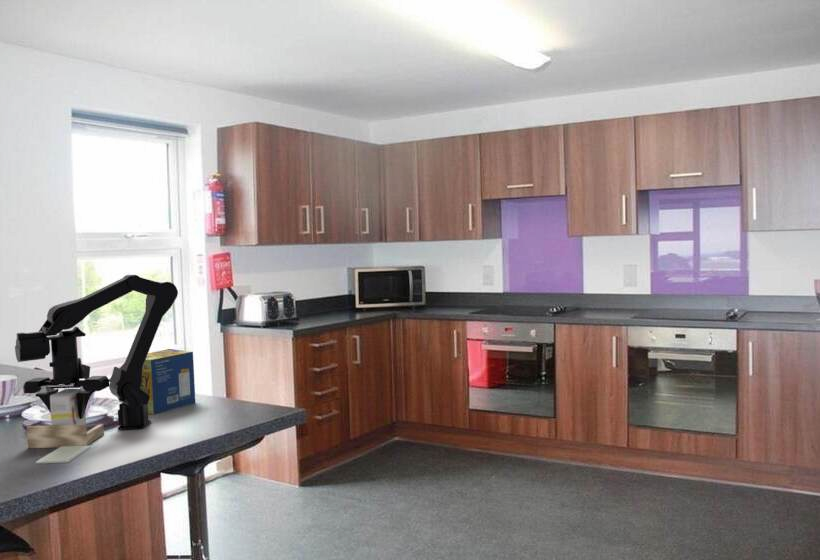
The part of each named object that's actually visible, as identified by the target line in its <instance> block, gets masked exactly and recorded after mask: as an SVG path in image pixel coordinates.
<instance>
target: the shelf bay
mask: <svg viewBox="0 0 820 560" xmlns="http://www.w3.org/2000/svg"><path fill="white" fill-rule="evenodd" d="M86 428H87V423H86V424H82V425H50V424H49V425H29V426H27V427H26V438H27V448H28V449H41V448H43V449H44V448H45V449H46V448H59V447H61V446H89V445H90V444H92V442H94V441H95V440H97V439H99V438H101V437H102V436H104V435H105V429H104V424H101V423H99V424H97V425H96V426H94V427H92V428H91V429H89V430H87V431H86Z"/></svg>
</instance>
